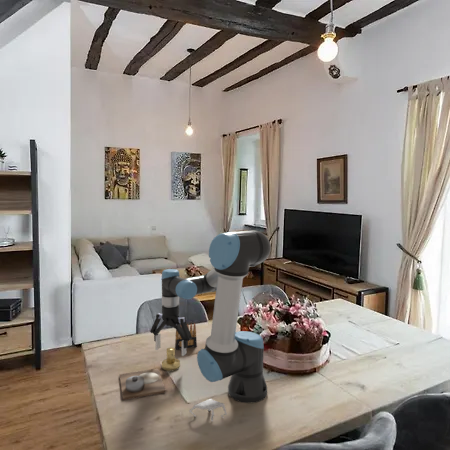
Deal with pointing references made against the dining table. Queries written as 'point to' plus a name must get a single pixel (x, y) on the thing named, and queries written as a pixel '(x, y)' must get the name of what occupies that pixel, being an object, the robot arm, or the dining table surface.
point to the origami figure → (209, 406)
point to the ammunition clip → (192, 341)
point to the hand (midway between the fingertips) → (170, 351)
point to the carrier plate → (147, 387)
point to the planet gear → (170, 361)
